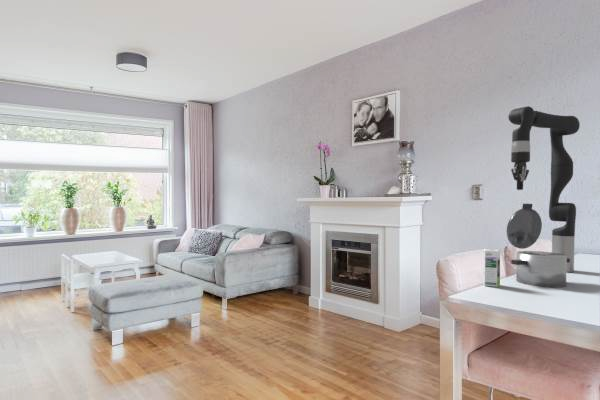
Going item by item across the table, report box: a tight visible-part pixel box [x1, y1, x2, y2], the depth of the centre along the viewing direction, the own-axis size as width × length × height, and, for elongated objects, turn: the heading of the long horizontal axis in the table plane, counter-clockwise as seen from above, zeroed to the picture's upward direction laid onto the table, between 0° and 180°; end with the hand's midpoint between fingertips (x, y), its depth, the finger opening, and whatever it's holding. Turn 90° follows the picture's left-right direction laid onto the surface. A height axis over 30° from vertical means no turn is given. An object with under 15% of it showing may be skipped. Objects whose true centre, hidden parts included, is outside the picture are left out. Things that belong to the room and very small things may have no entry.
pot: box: [510, 250, 570, 288], centre depth 169 cm, size 18×28×12 cm, turn 107°
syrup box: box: [483, 248, 501, 288], centre depth 163 cm, size 6×6×14 cm
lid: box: [506, 203, 543, 250], centre depth 177 cm, size 20×18×1 cm
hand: (519, 189), depth 184 cm, fingers closed
